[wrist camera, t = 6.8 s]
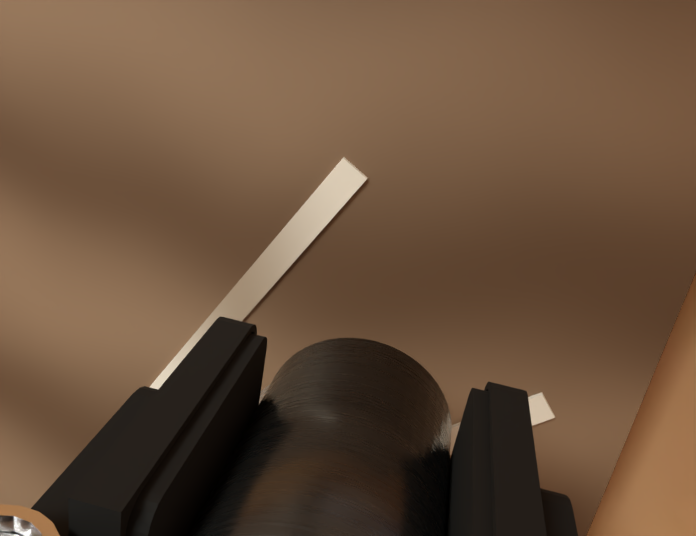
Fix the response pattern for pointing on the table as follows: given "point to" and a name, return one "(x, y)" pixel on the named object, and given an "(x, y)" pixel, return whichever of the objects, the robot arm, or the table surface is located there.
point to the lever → (338, 450)
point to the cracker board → (345, 204)
